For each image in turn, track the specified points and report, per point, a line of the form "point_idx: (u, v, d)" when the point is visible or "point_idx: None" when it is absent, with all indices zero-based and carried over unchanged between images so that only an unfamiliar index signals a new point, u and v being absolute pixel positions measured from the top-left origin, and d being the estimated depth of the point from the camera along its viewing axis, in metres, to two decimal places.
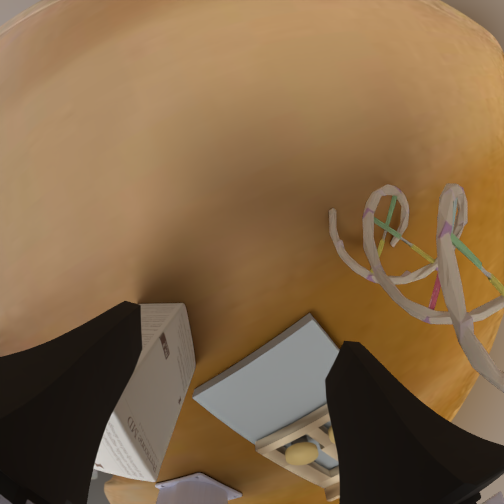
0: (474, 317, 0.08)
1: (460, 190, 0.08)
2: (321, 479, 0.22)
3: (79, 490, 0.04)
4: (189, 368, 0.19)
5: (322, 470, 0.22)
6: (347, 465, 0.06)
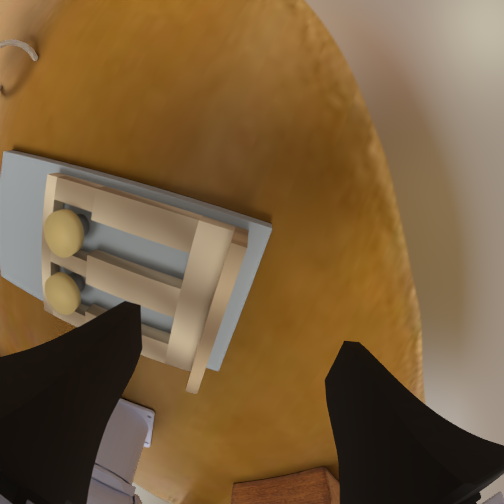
0: None
1: None
2: (157, 350, 0.18)
3: (79, 490, 0.04)
4: None
5: (145, 331, 0.18)
6: (347, 465, 0.06)
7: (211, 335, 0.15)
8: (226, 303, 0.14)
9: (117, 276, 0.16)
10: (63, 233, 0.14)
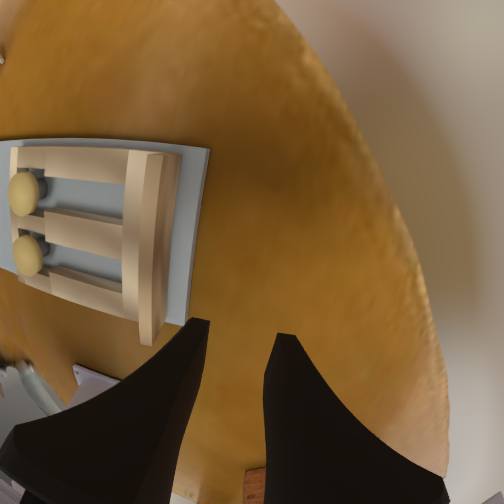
0: None
1: None
2: (114, 302, 0.17)
3: None
4: None
5: (101, 284, 0.17)
6: (270, 467, 0.06)
7: (147, 265, 0.13)
8: (153, 222, 0.12)
9: (68, 226, 0.15)
10: (21, 192, 0.13)
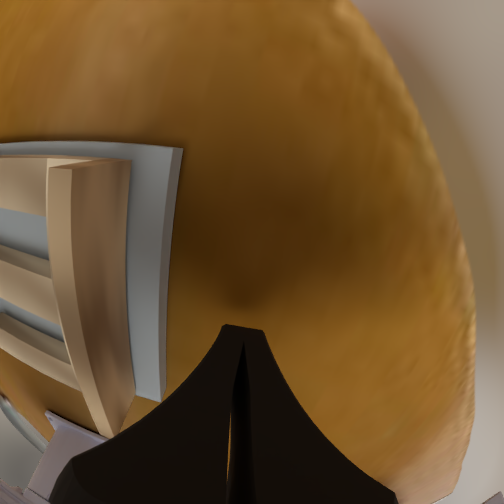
0: None
1: None
2: (65, 373, 0.10)
3: None
4: None
5: (47, 346, 0.10)
6: (230, 463, 0.06)
7: (81, 356, 0.07)
8: (74, 296, 0.06)
9: None
10: None
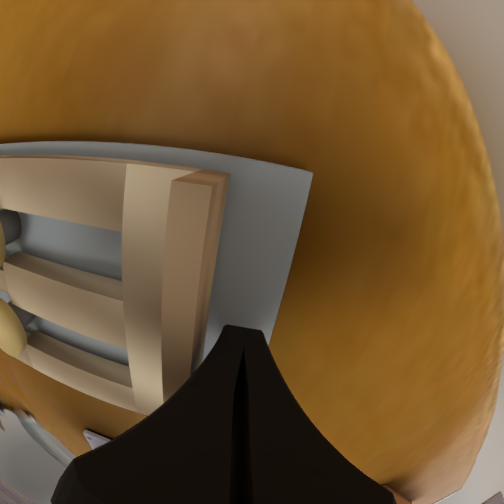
0: None
1: None
2: (121, 395, 0.10)
3: None
4: None
5: (99, 368, 0.10)
6: None
7: None
8: (191, 327, 0.06)
9: (37, 288, 0.08)
10: None
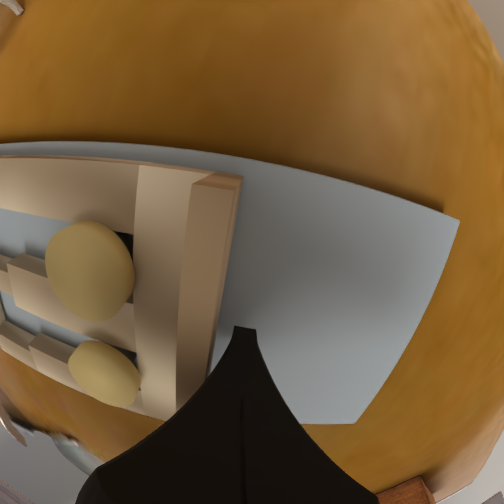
0: None
1: None
2: None
3: None
4: None
5: None
6: None
7: (194, 391, 0.07)
8: (208, 331, 0.06)
9: (44, 291, 0.08)
10: (87, 274, 0.07)
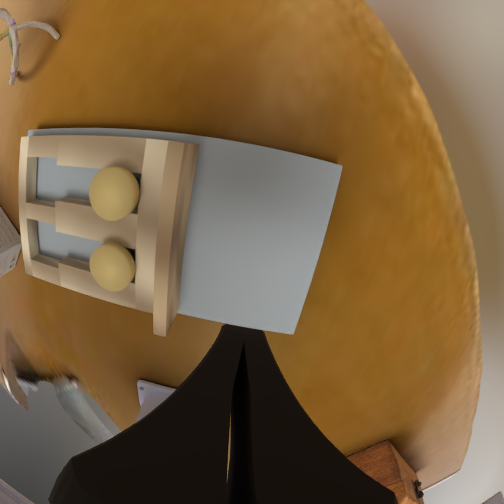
0: None
1: None
2: (126, 293, 0.17)
3: None
4: (3, 238, 0.16)
5: None
6: (230, 463, 0.06)
7: (165, 252, 0.13)
8: (173, 209, 0.13)
9: (81, 215, 0.15)
10: (114, 191, 0.13)
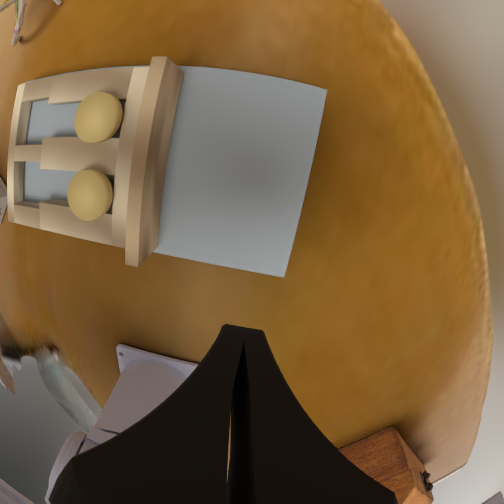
0: None
1: None
2: (103, 227, 0.15)
3: None
4: None
5: None
6: (230, 463, 0.06)
7: (141, 163, 0.12)
8: (151, 117, 0.11)
9: (65, 147, 0.13)
10: (98, 113, 0.12)
